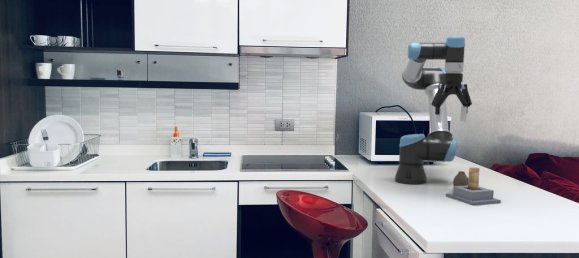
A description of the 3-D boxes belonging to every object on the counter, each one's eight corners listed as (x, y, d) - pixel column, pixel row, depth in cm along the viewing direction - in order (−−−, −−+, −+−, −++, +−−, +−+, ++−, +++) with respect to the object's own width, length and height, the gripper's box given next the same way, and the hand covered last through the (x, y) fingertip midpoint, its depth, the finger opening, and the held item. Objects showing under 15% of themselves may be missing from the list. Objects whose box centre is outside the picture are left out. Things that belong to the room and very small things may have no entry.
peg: (465, 196, 187) (466, 167, 186) (473, 195, 189) (474, 167, 188) (472, 198, 184) (473, 169, 183) (480, 197, 185) (481, 168, 184)
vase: (449, 189, 205) (450, 170, 204) (461, 188, 207) (462, 170, 206) (460, 193, 198) (461, 173, 198) (472, 192, 201) (473, 172, 200)
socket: (445, 196, 191) (446, 185, 191) (472, 194, 196) (472, 183, 196) (473, 205, 176) (473, 193, 176) (500, 203, 181) (501, 191, 181)
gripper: (436, 72, 185) (433, 123, 187) (482, 73, 194) (479, 121, 197) (424, 72, 192) (422, 121, 194) (469, 73, 201) (466, 120, 204)
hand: (450, 121), depth 195 cm, fingers open, 13 cm apart
